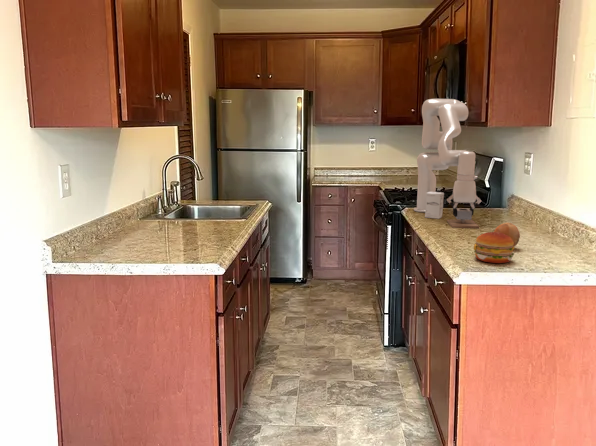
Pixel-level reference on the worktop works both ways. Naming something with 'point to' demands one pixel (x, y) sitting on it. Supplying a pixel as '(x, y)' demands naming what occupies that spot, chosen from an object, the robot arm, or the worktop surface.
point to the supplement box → (434, 205)
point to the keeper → (462, 223)
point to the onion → (509, 231)
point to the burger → (494, 247)
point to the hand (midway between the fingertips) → (462, 216)
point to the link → (464, 214)
